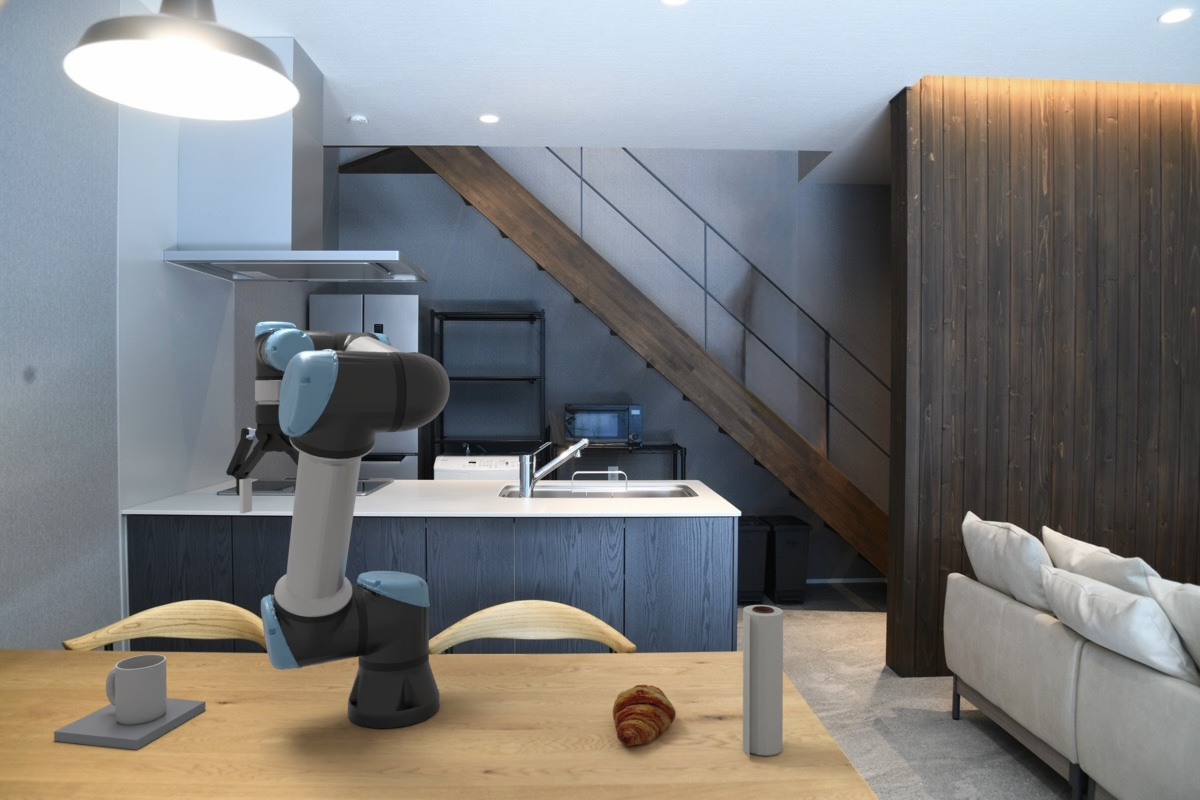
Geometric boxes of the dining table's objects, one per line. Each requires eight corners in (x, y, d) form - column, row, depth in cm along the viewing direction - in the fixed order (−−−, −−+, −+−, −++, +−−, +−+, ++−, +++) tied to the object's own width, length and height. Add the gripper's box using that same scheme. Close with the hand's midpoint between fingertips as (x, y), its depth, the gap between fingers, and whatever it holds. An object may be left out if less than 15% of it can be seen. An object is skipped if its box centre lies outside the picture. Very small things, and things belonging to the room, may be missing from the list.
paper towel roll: (768, 736, 124) (769, 601, 124) (790, 753, 119) (791, 612, 118) (728, 743, 122) (728, 606, 122) (748, 761, 116) (749, 617, 116)
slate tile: (205, 710, 134) (205, 701, 134) (137, 750, 120) (137, 740, 120) (129, 703, 137) (129, 694, 137) (54, 741, 123) (54, 731, 123)
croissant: (640, 719, 139) (620, 677, 140) (690, 698, 137) (669, 655, 138) (610, 773, 119) (587, 724, 120) (669, 749, 117) (644, 699, 118)
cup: (144, 727, 124) (143, 671, 124) (89, 722, 126) (88, 666, 126) (176, 709, 131) (176, 655, 131) (124, 704, 133) (124, 651, 133)
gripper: (346, 402, 153) (346, 512, 153) (231, 402, 158) (232, 508, 158) (325, 403, 145) (325, 518, 146) (205, 403, 150) (206, 514, 151)
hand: (277, 513), depth 152 cm, fingers open, 13 cm apart
